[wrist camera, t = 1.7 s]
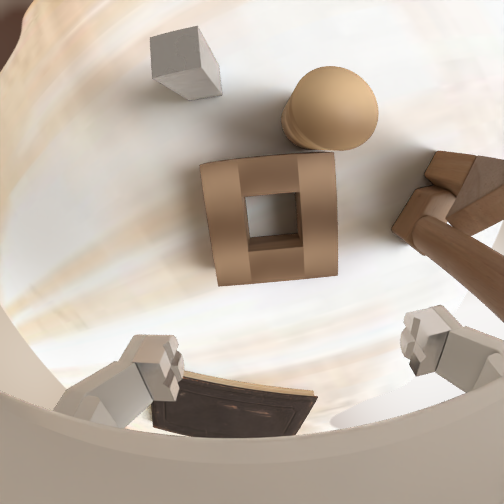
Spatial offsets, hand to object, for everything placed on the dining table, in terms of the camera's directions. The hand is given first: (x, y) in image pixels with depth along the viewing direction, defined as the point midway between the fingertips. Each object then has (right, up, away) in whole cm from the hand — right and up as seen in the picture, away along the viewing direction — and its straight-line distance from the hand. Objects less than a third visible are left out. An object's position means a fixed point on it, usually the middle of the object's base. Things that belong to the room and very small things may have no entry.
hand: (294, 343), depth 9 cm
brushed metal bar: (-6, +19, +14) cm, 24 cm away
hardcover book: (-5, -21, +30) cm, 37 cm away
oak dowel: (+4, +15, +15) cm, 22 cm away
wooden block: (+17, +9, +17) cm, 26 cm away
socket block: (0, +7, +18) cm, 20 cm away
